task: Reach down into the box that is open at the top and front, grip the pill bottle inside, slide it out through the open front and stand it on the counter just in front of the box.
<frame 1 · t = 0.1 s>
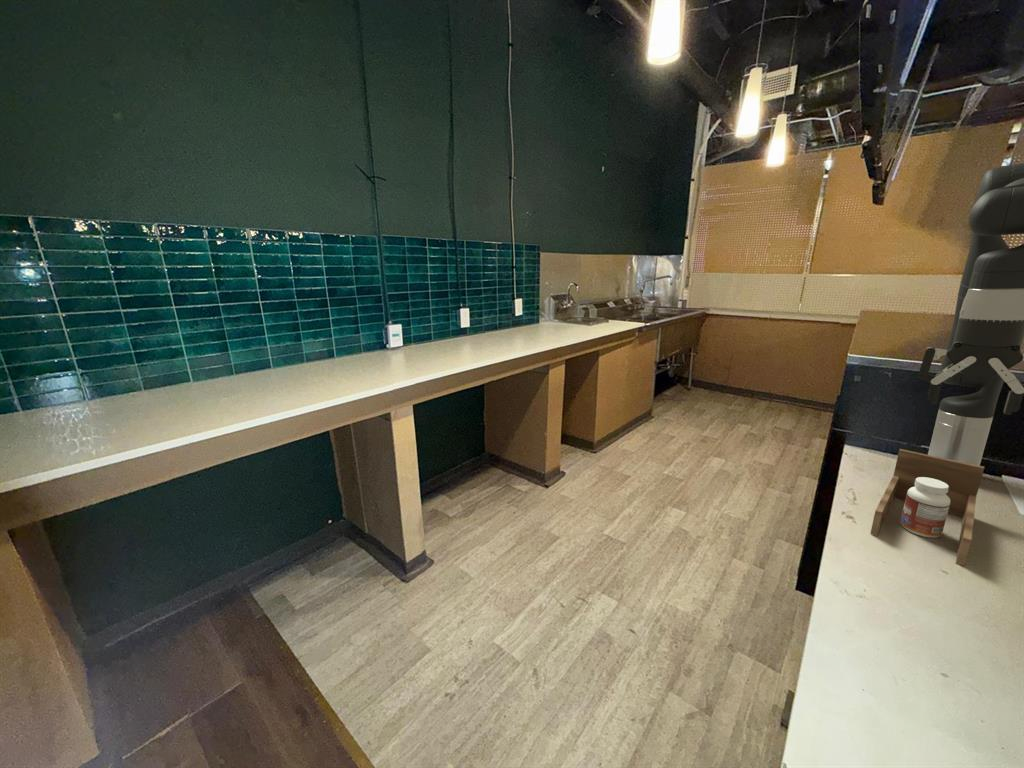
hand: (968, 408, 70), 29 cm above the table, tool pointing down, fingers open, 8 cm apart
open-sided box: (921, 525, 84), on the table
pill bottle: (919, 530, 83), resting in open-sided box
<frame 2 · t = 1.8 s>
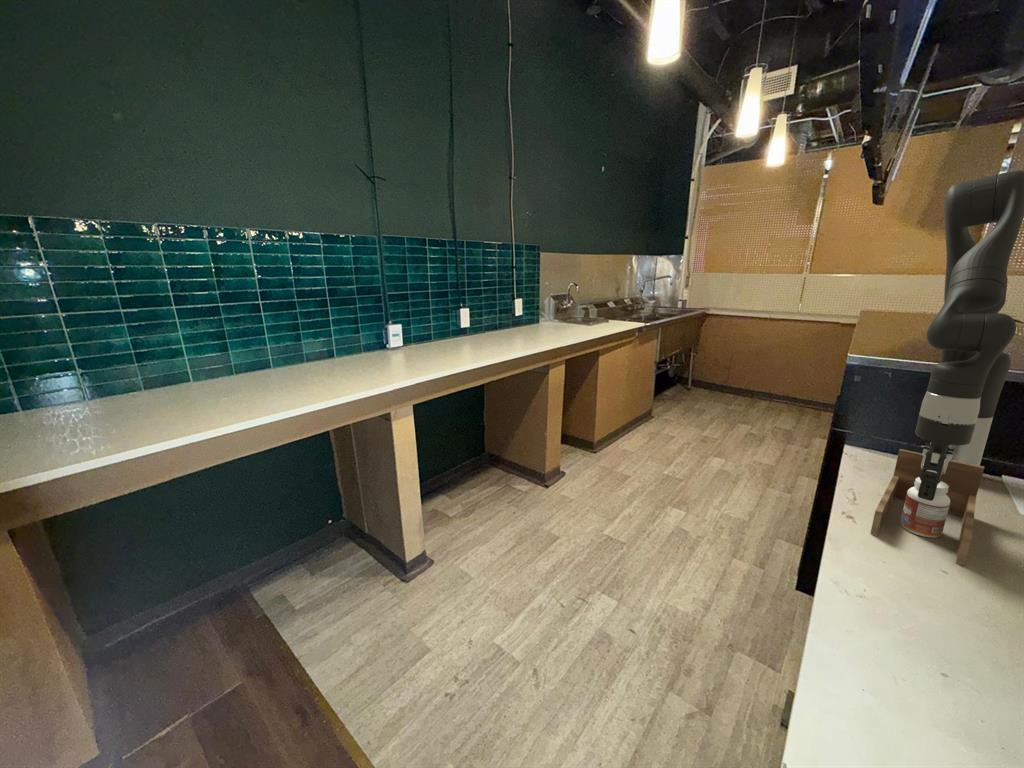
hand: (927, 491, 81), 9 cm above the table, tool pointing down, fingers open, 8 cm apart
nothing on the table moved.
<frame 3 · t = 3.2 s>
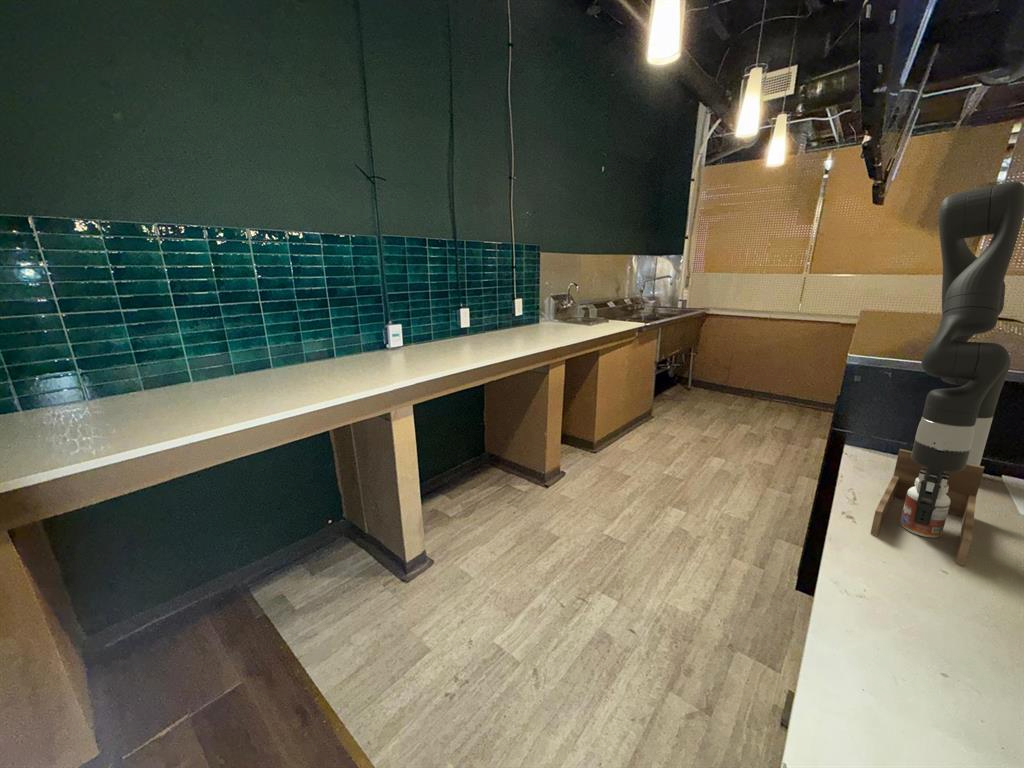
hand: (923, 516, 82), 3 cm above the table, tool pointing down, fingers closed on pill bottle, 6 cm apart
pill bottle: (919, 530, 83), resting in open-sided box, touching gripper
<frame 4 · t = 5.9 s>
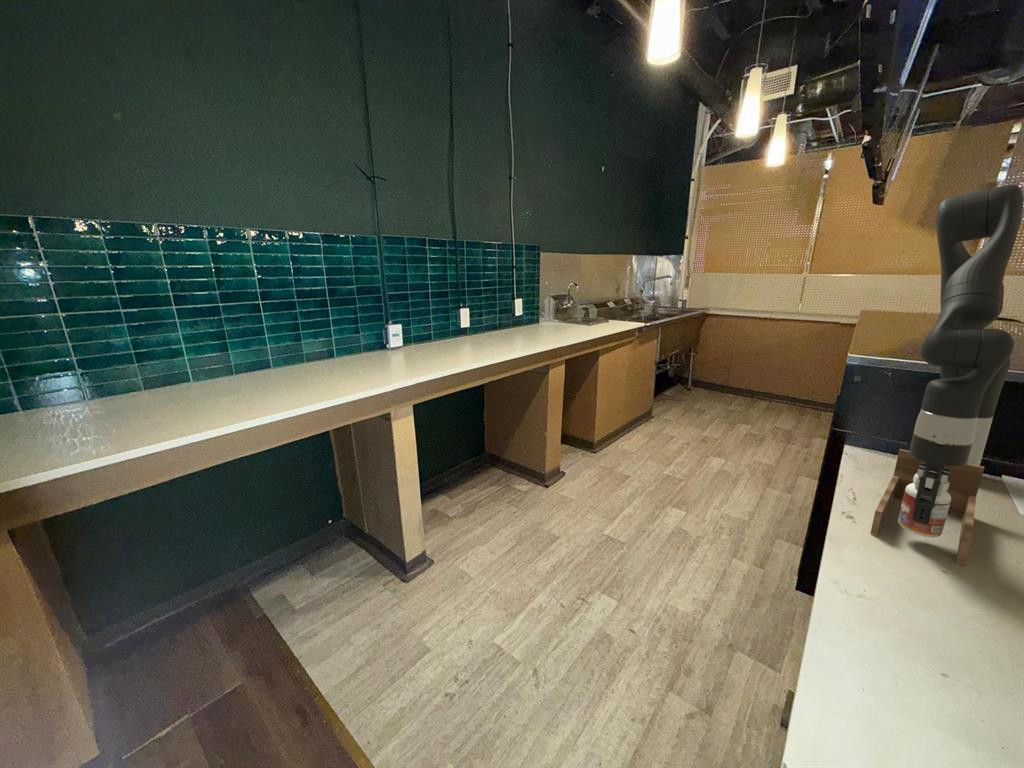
hand: (922, 514, 77), 6 cm above the table, tool pointing down, fingers closed on pill bottle, 6 cm apart
pill bottle: (918, 529, 78), point 3 cm above the table, touching gripper
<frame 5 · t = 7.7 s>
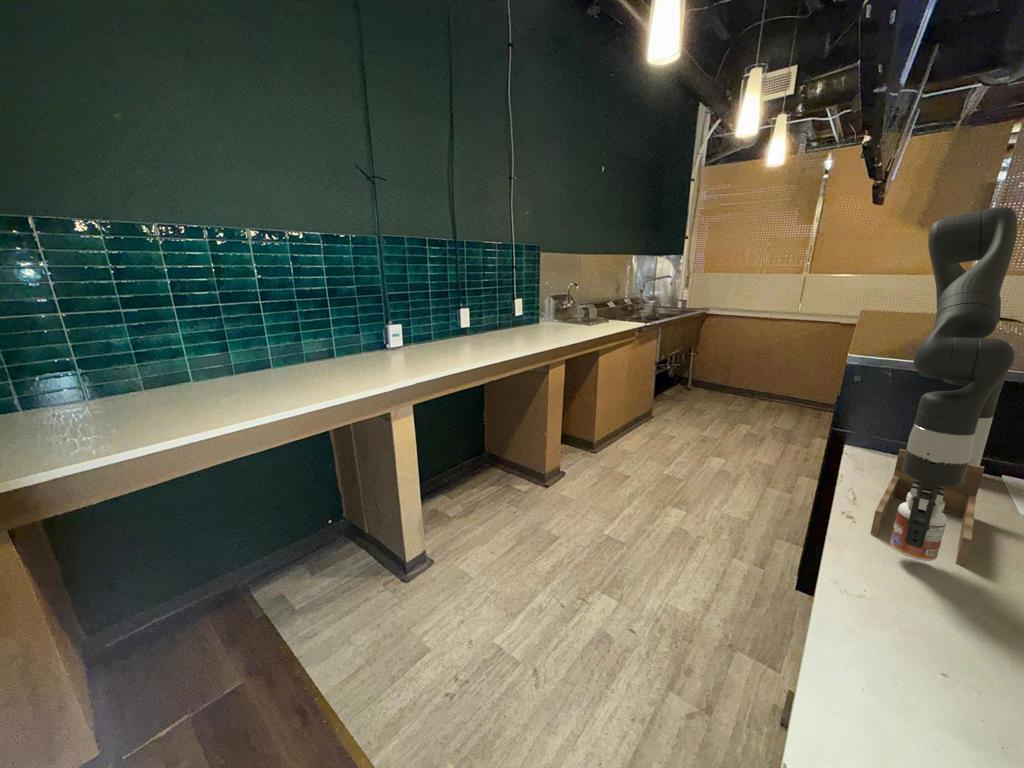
hand: (916, 536, 72), 6 cm above the table, tool pointing down, fingers closed on pill bottle, 6 cm apart
pill bottle: (912, 552, 73), point 2 cm above the table, touching gripper
when the fingers open (4 cm above the table, at t = 8.8 s): pill bottle drops 1 cm, on the table.
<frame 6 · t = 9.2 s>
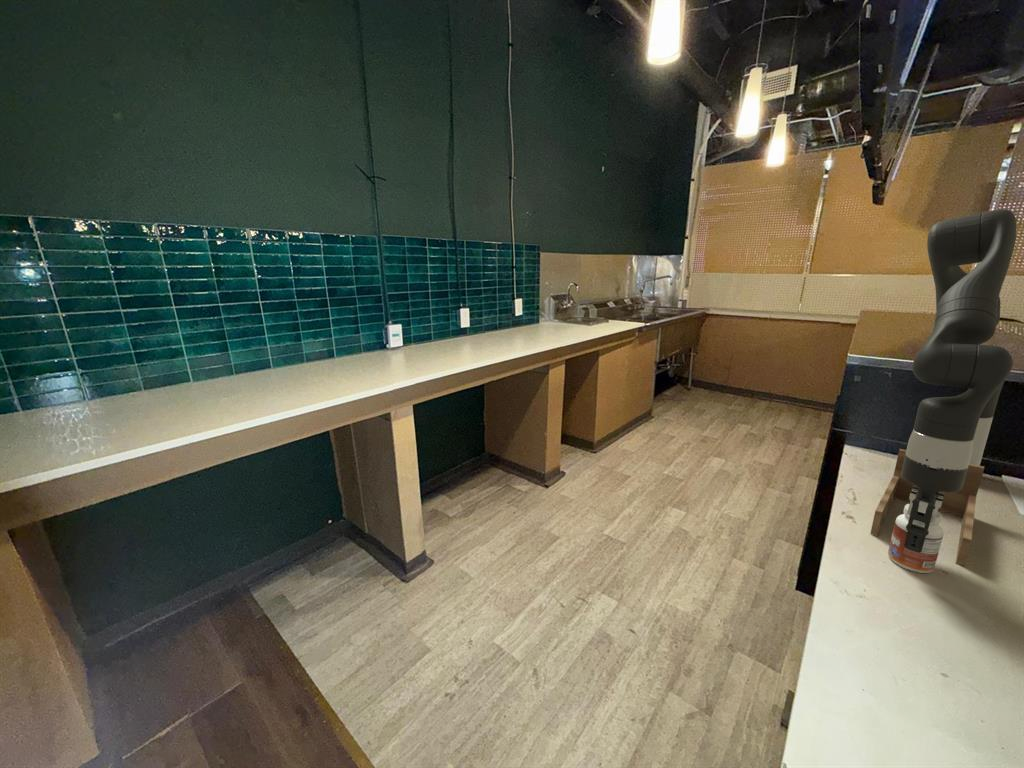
hand: (915, 539, 72), 5 cm above the table, tool pointing down, fingers open, 8 cm apart
pill bottle: (909, 563, 74), on the table
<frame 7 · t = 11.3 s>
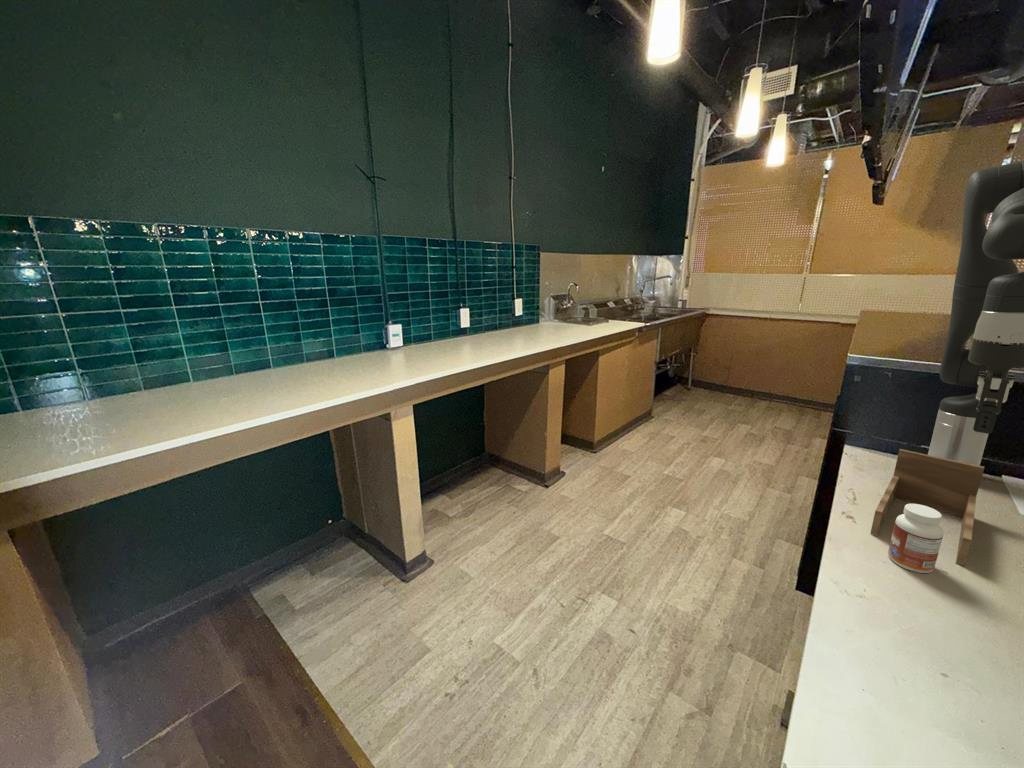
hand: (983, 425, 72), 25 cm above the table, tool pointing down, fingers open, 8 cm apart
nothing on the table moved.
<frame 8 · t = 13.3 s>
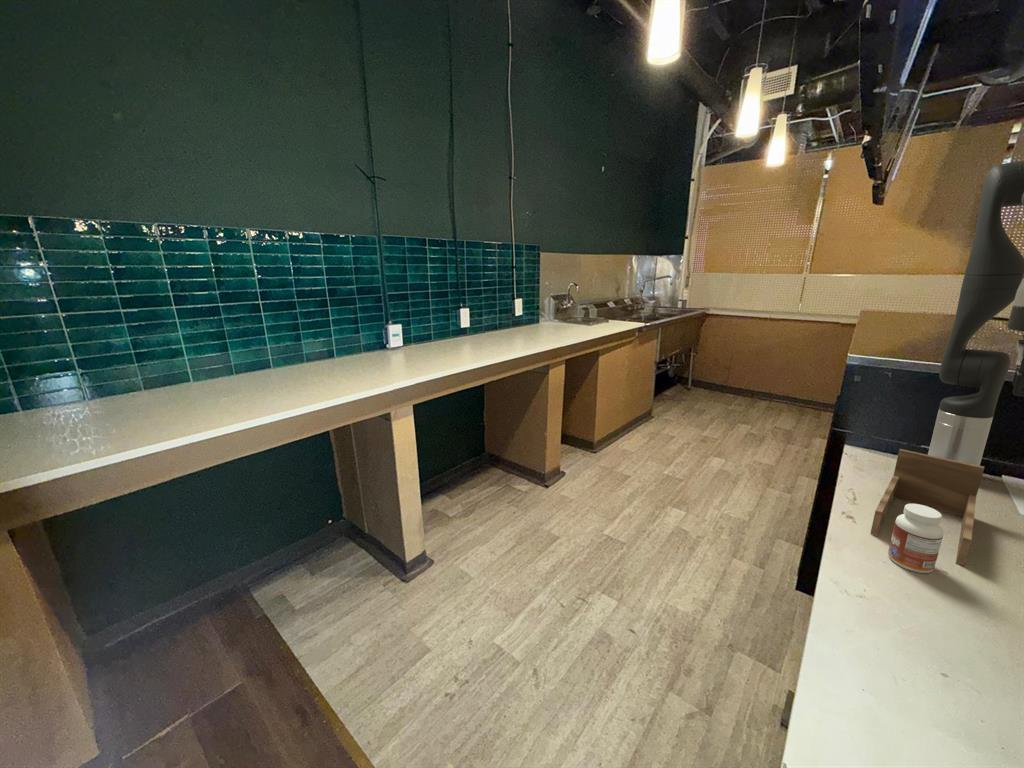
hand: (1020, 391, 74), 30 cm above the table, tool pointing down, fingers open, 8 cm apart
nothing on the table moved.
at the end: pill bottle inside the target area (0.1 cm from its centre), on the table; pill bottle tilted 0°; the gripper is holding nothing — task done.
